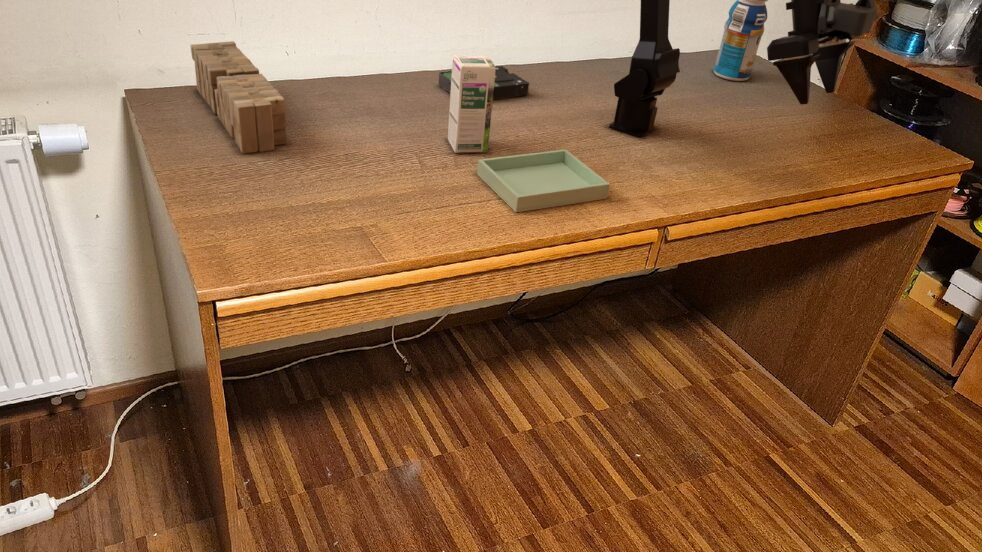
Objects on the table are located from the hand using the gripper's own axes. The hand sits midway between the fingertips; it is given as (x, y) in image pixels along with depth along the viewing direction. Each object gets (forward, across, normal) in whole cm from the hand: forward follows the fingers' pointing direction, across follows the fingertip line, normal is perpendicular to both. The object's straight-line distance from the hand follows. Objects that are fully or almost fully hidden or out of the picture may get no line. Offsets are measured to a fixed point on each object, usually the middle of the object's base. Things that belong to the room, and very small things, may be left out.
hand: (817, 98), depth 123 cm
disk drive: (-10, -10, +62) cm, 63 cm away
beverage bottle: (0, +47, +40) cm, 62 cm away
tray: (+4, -33, +30) cm, 44 cm away
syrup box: (-2, -32, +46) cm, 56 cm away
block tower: (-15, -56, +73) cm, 94 cm away
